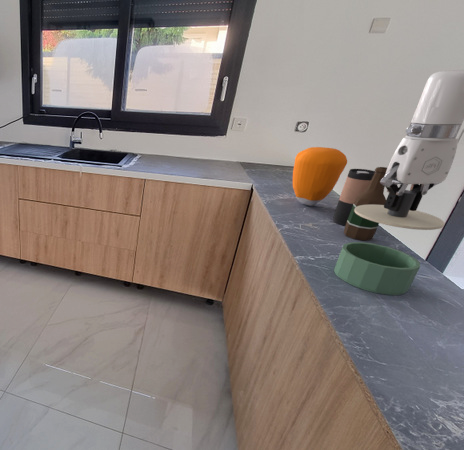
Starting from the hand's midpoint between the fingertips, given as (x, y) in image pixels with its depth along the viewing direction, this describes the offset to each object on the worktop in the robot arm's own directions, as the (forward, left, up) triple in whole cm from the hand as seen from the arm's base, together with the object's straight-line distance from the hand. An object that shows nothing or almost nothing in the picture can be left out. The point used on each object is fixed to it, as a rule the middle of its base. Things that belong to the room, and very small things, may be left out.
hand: (399, 208), depth 76 cm
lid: (0, 0, -2) cm, 2 cm away
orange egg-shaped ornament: (-3, -63, -20) cm, 66 cm away
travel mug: (-10, -44, -20) cm, 49 cm away
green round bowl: (0, 0, -20) cm, 20 cm away
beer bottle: (-9, -31, -20) cm, 38 cm away
